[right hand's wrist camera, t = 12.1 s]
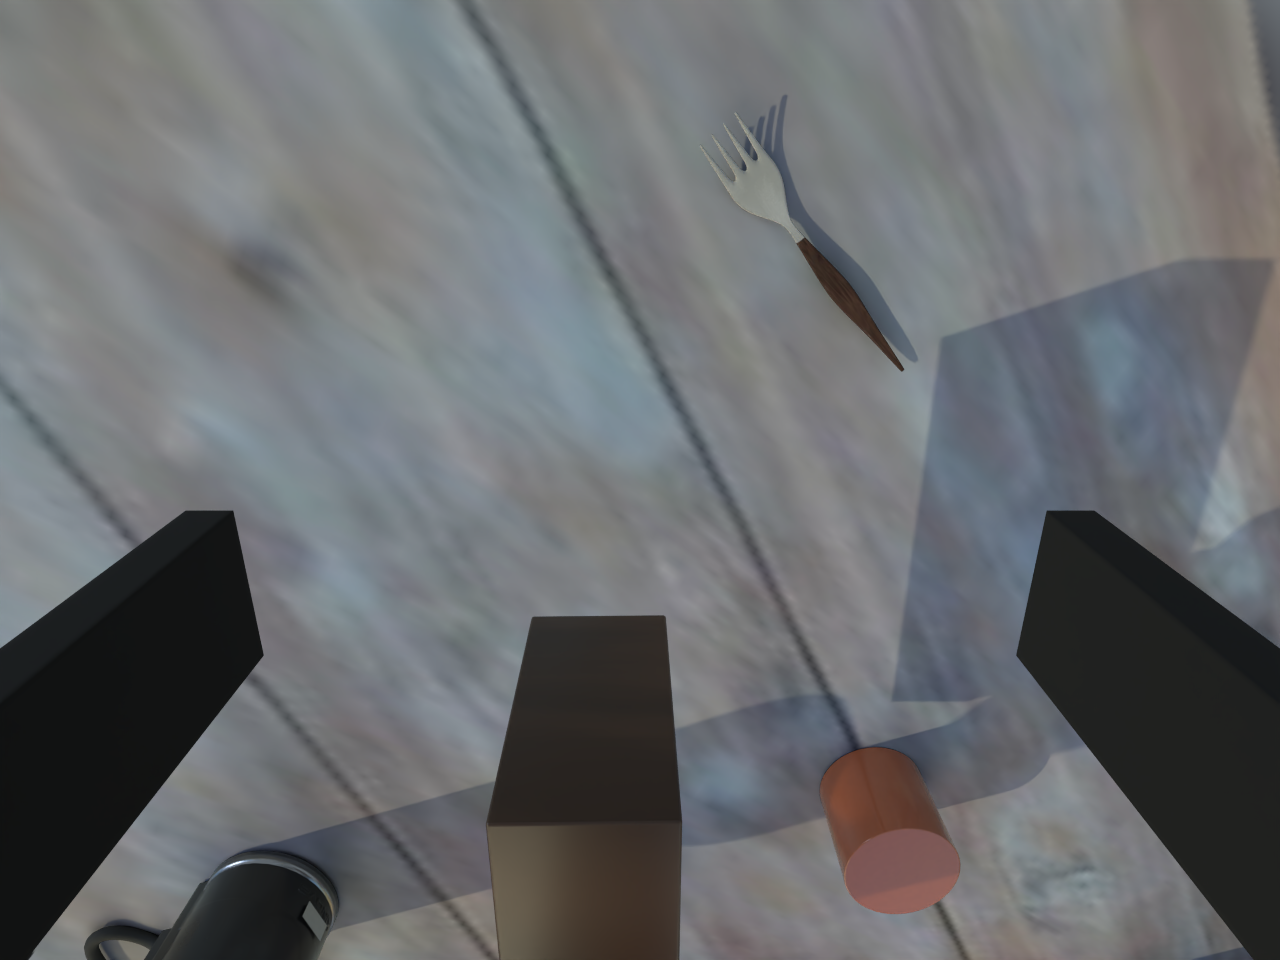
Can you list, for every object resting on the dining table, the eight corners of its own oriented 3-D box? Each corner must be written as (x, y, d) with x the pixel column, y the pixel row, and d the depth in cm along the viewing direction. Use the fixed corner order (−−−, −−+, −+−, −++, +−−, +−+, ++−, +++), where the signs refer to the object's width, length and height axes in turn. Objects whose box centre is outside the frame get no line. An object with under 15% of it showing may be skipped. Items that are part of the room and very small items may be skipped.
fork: (880, 384, 43) (891, 393, 41) (693, 150, 38) (696, 148, 37) (919, 353, 42) (932, 361, 40) (734, 111, 38) (739, 108, 36)
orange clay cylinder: (865, 730, 52) (898, 810, 45) (942, 777, 53) (985, 861, 47) (798, 797, 54) (820, 883, 47) (874, 841, 55) (906, 930, 49)
